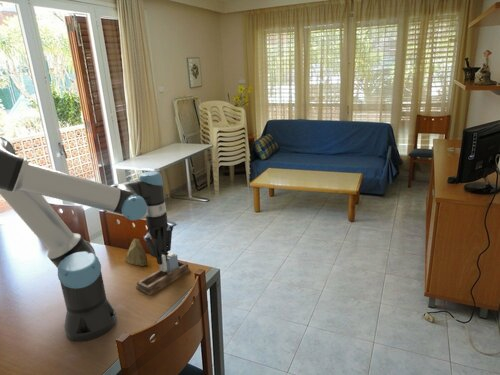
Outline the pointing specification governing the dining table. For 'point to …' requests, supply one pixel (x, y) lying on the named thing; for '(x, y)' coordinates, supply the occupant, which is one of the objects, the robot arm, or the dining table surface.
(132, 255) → the rock
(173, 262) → the rider
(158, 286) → the wooden tray
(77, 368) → the dining table surface
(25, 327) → the dining table surface
